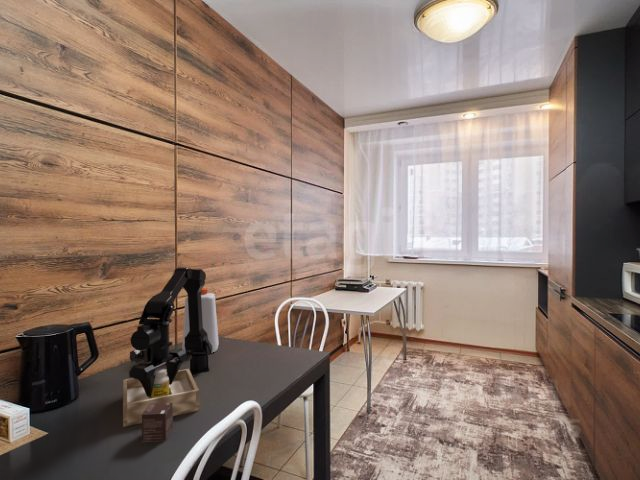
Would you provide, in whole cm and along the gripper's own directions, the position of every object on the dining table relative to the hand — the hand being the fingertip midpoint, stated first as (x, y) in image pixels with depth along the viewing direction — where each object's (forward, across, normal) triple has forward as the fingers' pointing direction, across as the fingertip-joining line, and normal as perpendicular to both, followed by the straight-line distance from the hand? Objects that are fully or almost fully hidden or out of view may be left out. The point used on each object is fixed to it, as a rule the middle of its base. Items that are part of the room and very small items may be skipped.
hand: (159, 390), depth 113 cm
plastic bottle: (+5, -50, -20) cm, 54 cm away
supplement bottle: (+4, 0, 0) cm, 4 cm away
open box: (+4, 0, 0) cm, 4 cm away
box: (+5, +15, +12) cm, 20 cm away
